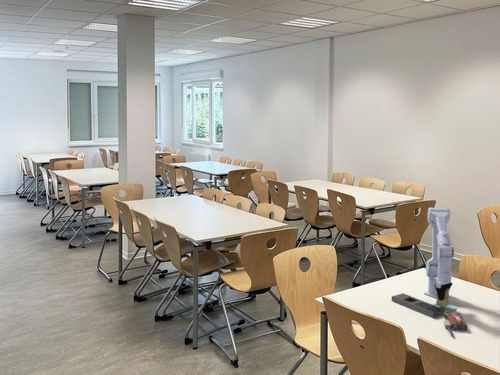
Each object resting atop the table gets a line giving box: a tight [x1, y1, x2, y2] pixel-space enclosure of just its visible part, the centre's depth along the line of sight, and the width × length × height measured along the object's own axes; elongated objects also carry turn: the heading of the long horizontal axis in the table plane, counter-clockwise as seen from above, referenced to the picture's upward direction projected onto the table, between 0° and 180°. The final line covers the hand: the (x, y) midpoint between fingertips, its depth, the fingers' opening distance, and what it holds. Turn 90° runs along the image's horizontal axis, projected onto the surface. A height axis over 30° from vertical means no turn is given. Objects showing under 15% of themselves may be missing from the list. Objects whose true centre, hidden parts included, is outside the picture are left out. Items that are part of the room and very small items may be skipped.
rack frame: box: [391, 292, 446, 319], centre depth 229 cm, size 8×24×2 cm, turn 32°
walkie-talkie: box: [443, 312, 468, 337], centre depth 207 cm, size 9×4×20 cm
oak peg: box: [435, 288, 450, 307], centre depth 227 cm, size 4×4×8 cm
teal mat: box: [432, 303, 457, 314], centre depth 228 cm, size 9×9×1 cm
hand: (442, 298), depth 228 cm, fingers closed on oak peg, 4 cm apart
